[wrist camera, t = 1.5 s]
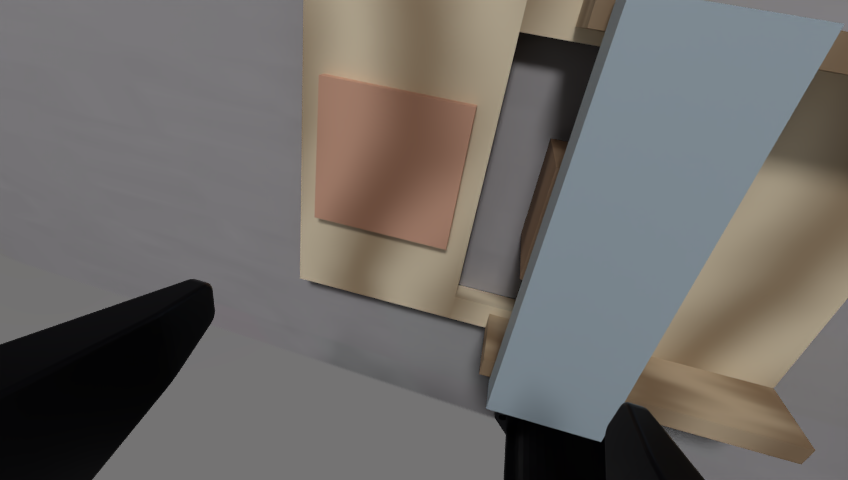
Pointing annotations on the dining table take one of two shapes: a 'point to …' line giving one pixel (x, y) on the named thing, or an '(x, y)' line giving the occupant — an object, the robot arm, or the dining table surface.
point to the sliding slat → (646, 196)
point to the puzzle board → (463, 179)
